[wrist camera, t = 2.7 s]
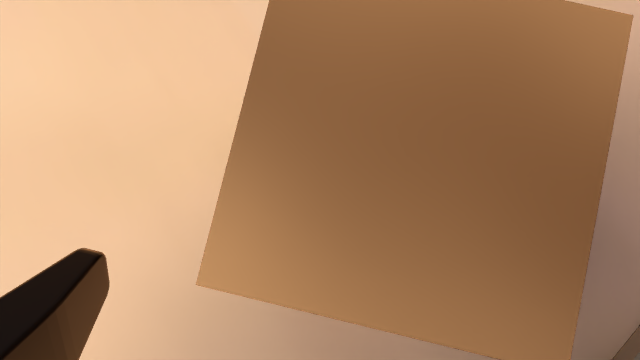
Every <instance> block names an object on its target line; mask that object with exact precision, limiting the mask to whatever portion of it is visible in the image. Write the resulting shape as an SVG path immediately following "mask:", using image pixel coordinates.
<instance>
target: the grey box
mask: <svg viewBox="0 0 640 360" xmlns="http://www.w3.org/2000/svg"><path fill="white" fill-rule="evenodd" d="M612 360H640V326H639V327H638V328H637V330H636V331H635V332H634V333H633V334H632V336H631V337H630V338H629V339H628V341H627V342H626V343H625V344H624V346H623V347H622V348H621V349H620V351H619V352H618V353H617V354H616V356H615V357H614V358H613V359H612Z"/></svg>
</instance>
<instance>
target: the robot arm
mask: <svg viewBox="0 0 640 360" xmlns="http://www.w3.org/2000/svg"><path fill="white" fill-rule="evenodd" d="M108 290H109V276H108V269H107V261H106V257H105V255H104V254H103V253H102V252H99V251H95V250H91V249H86V248H80V249H77V250H76V251H74V252H72V253H71V254H69V255H67V256H66V257H64V258H63V259H61V260H59V261H58V262H56V263H55V264H53V265H51V266H50V267H48V268H47V269H45V270H43V271H42V272H40V273H39V274H37V275H35V276H34V277H32V278H31V279H29V280H27V281H26V282H24V283H23V284H21V285H19V286H18V287H16V288H15V289H13V290H11V291H10V292H8V293H7V294H5V295H3V296H2V297H0V360H79V358H80V356H81V353H82V351H83V349H84V347H85V344H86V342H87V340H88V338H89V335H90V333H91V331H92V328H93V326H94V324H95V322H96V319H97V317H98V315H99V313H100V310H101V308H102V306H103V303H104V301H105V299H106V297H107V294H108Z"/></svg>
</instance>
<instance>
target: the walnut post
mask: <svg viewBox="0 0 640 360" xmlns="http://www.w3.org/2000/svg"><path fill="white" fill-rule="evenodd" d="M632 20H633V15H629V14H625V13H620V12H615V11H611V10H606V9H602V8H597V7H592V6H588V5H583V4H579V3H574V2H569V1H565V0H269V4H268V8H267V12H266V16H265V20H264V23H263V27H262V31H261V35H260V39H259V43H258V47H257V50H256V54H255V58H254V62H253V66H252V70H251V74H250V77H249V81H248V85H247V89H246V93H245V97H244V101H243V104H242V108H241V112H240V116H239V120H238V124H237V128H236V132H235V135H234V139H233V143H232V147H231V151H230V155H229V159H228V162H227V166H226V170H225V174H224V178H223V182H222V186H221V189H220V193H219V197H218V201H217V205H216V209H215V213H214V216H213V220H212V224H211V228H210V232H209V236H208V240H207V243H206V247H205V251H204V255H203V259H202V263H201V267H200V270H199V274H198V278H197V282H196V285H199V286H203V287H207V288H211V289H215V290H219V291H223V292H227V293H231V294H235V295H239V296H243V297H248V298H252V299H256V300H260V301H264V302H268V303H272V304H276V305H280V306H284V307H288V308H292V309H296V310H301V311H305V312H309V313H313V314H317V315H321V316H325V317H329V318H333V319H337V320H341V321H345V322H349V323H353V324H358V325H362V326H366V327H370V328H374V329H378V330H382V331H386V332H390V333H394V334H398V335H402V336H406V337H411V338H415V339H419V340H423V341H427V342H431V343H435V344H439V345H443V346H447V347H451V348H455V349H459V350H463V351H468V352H472V353H476V354H480V355H484V356H488V357H492V358H496V359H500V360H570V358H571V353H572V347H573V342H574V336H575V331H576V325H577V320H578V314H579V309H580V304H581V298H582V293H583V287H584V282H585V276H586V271H587V265H588V260H589V254H590V249H591V244H592V238H593V233H594V227H595V222H596V216H597V211H598V205H599V200H600V194H601V189H602V184H603V178H604V173H605V167H606V162H607V156H608V151H609V145H610V140H611V134H612V129H613V124H614V118H615V113H616V107H617V102H618V96H619V91H620V85H621V80H622V74H623V69H624V64H625V58H626V53H627V47H628V42H629V36H630V31H631V25H632Z"/></svg>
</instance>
